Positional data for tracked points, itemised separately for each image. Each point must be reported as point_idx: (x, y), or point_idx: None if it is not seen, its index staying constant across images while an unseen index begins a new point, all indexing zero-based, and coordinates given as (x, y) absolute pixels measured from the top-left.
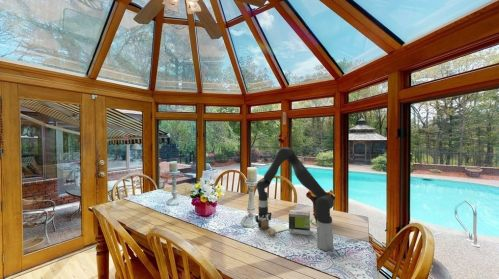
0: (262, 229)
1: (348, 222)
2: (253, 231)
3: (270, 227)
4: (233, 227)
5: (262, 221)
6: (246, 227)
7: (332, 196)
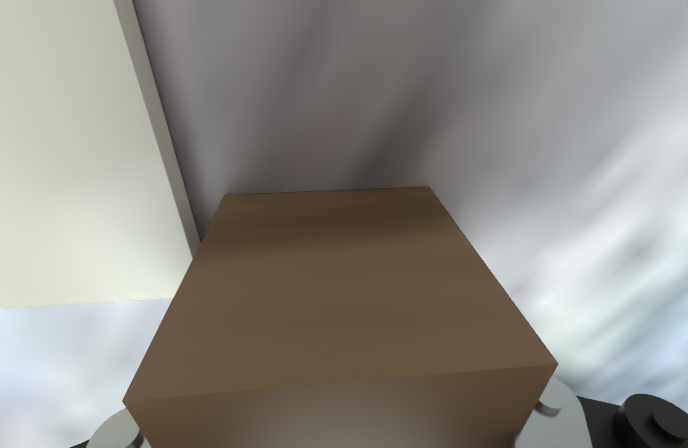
0: (420, 195)
1: None
2: (615, 216)
3: (159, 194)
4: None
5: (446, 430)
6: (564, 373)
7: None
